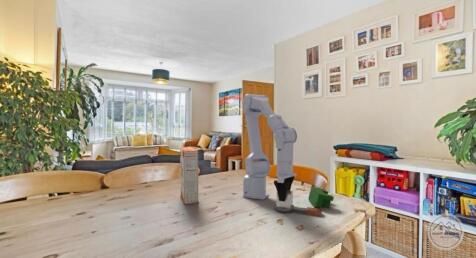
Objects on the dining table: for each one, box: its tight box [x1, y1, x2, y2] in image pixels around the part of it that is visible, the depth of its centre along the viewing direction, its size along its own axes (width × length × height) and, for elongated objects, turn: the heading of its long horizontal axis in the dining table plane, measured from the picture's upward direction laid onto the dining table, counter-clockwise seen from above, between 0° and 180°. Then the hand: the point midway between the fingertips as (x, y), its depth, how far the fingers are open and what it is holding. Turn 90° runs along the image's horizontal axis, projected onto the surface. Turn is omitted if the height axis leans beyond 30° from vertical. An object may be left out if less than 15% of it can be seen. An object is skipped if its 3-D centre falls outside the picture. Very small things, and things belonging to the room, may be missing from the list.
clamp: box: [308, 185, 335, 209], centre depth 100 cm, size 12×6×9 cm, turn 172°
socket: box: [275, 190, 294, 208], centre depth 93 cm, size 5×5×5 cm
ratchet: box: [274, 203, 323, 217], centre depth 91 cm, size 16×7×4 cm, turn 68°
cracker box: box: [179, 146, 199, 206], centre depth 104 cm, size 14×6×21 cm, turn 18°
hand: (284, 198), depth 93 cm, fingers open, 7 cm apart
